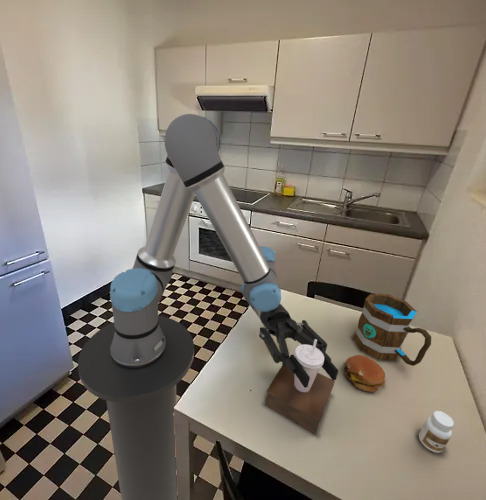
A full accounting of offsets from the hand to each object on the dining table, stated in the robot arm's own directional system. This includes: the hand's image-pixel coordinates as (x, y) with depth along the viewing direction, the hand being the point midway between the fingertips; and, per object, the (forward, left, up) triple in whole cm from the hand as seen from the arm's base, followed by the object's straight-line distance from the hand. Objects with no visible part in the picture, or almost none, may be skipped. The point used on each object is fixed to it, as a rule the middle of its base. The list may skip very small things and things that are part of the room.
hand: (321, 378), depth 58 cm
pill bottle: (+23, +10, -13) cm, 28 cm away
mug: (+12, +35, -13) cm, 39 cm away
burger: (+8, +20, -13) cm, 25 cm away
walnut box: (-4, +3, -13) cm, 14 cm away
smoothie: (-4, +3, -8) cm, 9 cm away
